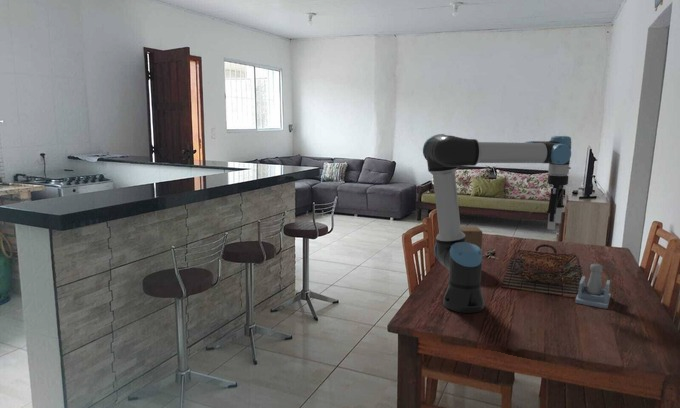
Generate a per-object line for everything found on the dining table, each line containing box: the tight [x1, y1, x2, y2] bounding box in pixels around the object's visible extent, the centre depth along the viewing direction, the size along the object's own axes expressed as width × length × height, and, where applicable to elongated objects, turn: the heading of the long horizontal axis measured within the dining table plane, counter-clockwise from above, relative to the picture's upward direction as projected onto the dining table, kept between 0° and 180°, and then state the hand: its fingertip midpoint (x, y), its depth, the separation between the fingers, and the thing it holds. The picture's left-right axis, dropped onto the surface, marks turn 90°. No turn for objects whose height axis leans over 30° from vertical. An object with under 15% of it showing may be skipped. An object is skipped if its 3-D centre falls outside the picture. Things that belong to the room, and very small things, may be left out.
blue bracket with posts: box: [574, 275, 612, 310], centre depth 190 cm, size 14×11×8 cm
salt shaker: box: [586, 263, 604, 296], centre depth 189 cm, size 6×6×13 cm
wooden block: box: [460, 225, 483, 250], centre depth 226 cm, size 10×10×20 cm
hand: (554, 226), depth 199 cm, fingers open, 13 cm apart
